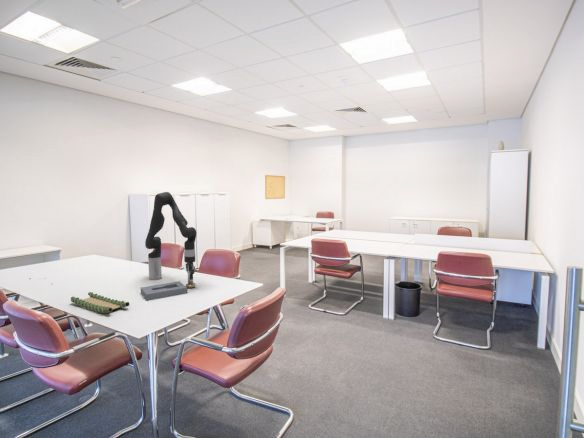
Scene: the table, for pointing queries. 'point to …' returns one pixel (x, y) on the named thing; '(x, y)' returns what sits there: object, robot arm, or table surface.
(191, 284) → the steel peg
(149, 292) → the keyhole plate
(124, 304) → the stretcher
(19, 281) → the table surface
